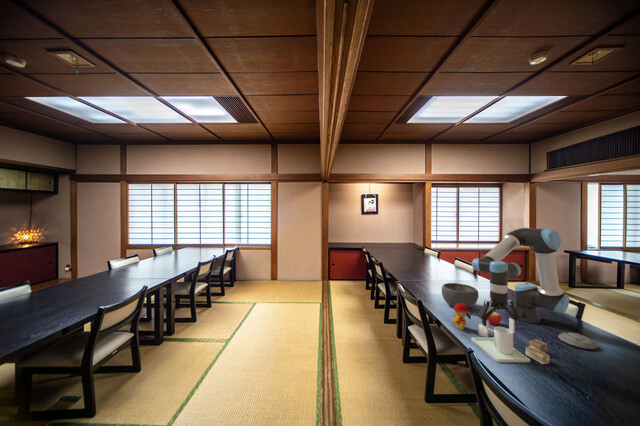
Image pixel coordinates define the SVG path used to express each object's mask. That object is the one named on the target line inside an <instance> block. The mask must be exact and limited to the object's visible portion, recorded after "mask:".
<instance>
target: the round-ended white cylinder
mask: <svg viewBox="0 0 640 426" xmlns="http://www.w3.org/2000/svg"><path fill="white" fill-rule="evenodd" d="M477 327H478V329H477V330H478V331H477V334H478V336H480V337H481V338H487V337H488V338H489V333H486V335H487V337H486V336H485V333H484V325H482V322H478V325H477Z"/></svg>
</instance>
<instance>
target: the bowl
mask: <svg viewBox="0 0 640 426" xmlns="http://www.w3.org/2000/svg"><path fill="white" fill-rule="evenodd" d="M441 286H442V287H441V294H442V298H443V299H444V301H445V302H446V303H447V304H448V305H449V306H451V307H452V308H453V307H455V306H456V304H458V303H461V304H464V305H465V306H466V308H467V309H471V308H472V307H473V306H475V305H476V304H477V302H478V300H479V297H480V296H479V291H478V290H477V288H476V287H474V286H471V285H468V284H465V283H458V282H448V283H447V282H446V283H444V284H442V285H441Z"/></svg>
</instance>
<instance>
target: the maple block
mask: <svg viewBox="0 0 640 426" xmlns="http://www.w3.org/2000/svg"><path fill="white" fill-rule="evenodd" d="M525 356H528V358H530V359H533V360H535V361H536V362H538V363H540V365H549V364H550V355H549V354H548V353H547V354H546V353H544V352H542V351H540V350H538V349H536V348H535V347H533V346H530V347H529V346H525Z"/></svg>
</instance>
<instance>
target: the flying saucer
mask: <svg viewBox="0 0 640 426" xmlns="http://www.w3.org/2000/svg"><path fill="white" fill-rule="evenodd" d="M557 337H558V339H559V340H560V341H562V342H564V343H566V344H568V345H571V346H573V347H577V348H581V349H585V350H596V349H598V344H596V342H595V341H594V340H592V339H591V338H589V337H587V336H585V335H583V334H580V333H576V332H566V331H565V332H561V333H560V334H558V336H557Z"/></svg>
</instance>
